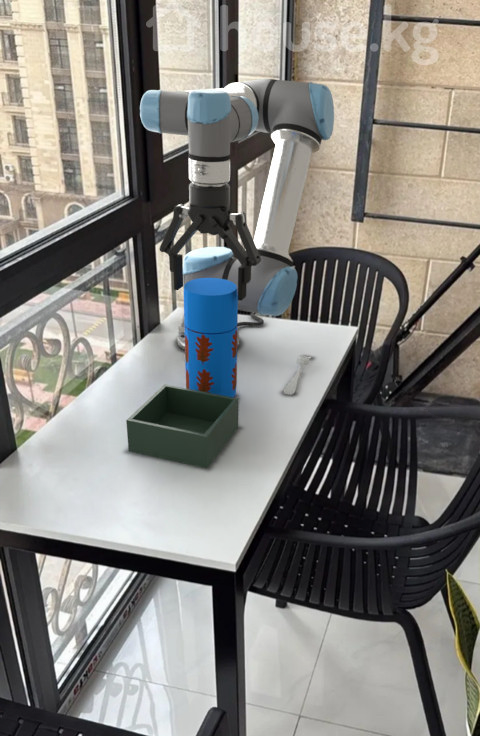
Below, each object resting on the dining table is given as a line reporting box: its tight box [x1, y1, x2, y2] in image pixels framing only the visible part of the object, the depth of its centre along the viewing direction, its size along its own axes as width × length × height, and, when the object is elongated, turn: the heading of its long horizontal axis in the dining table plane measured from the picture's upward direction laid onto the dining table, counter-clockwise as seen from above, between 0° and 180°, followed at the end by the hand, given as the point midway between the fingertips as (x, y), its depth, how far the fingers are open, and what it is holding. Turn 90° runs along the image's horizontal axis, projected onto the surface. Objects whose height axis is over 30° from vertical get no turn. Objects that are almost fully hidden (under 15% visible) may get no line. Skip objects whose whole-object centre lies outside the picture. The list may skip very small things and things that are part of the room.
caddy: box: [125, 383, 240, 469], centre depth 146 cm, size 16×16×7 cm
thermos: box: [183, 278, 239, 398], centre depth 157 cm, size 11×11×25 cm
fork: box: [283, 355, 313, 396], centre depth 175 cm, size 3×21×3 cm, turn 167°
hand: (210, 293), depth 151 cm, fingers open, 13 cm apart
